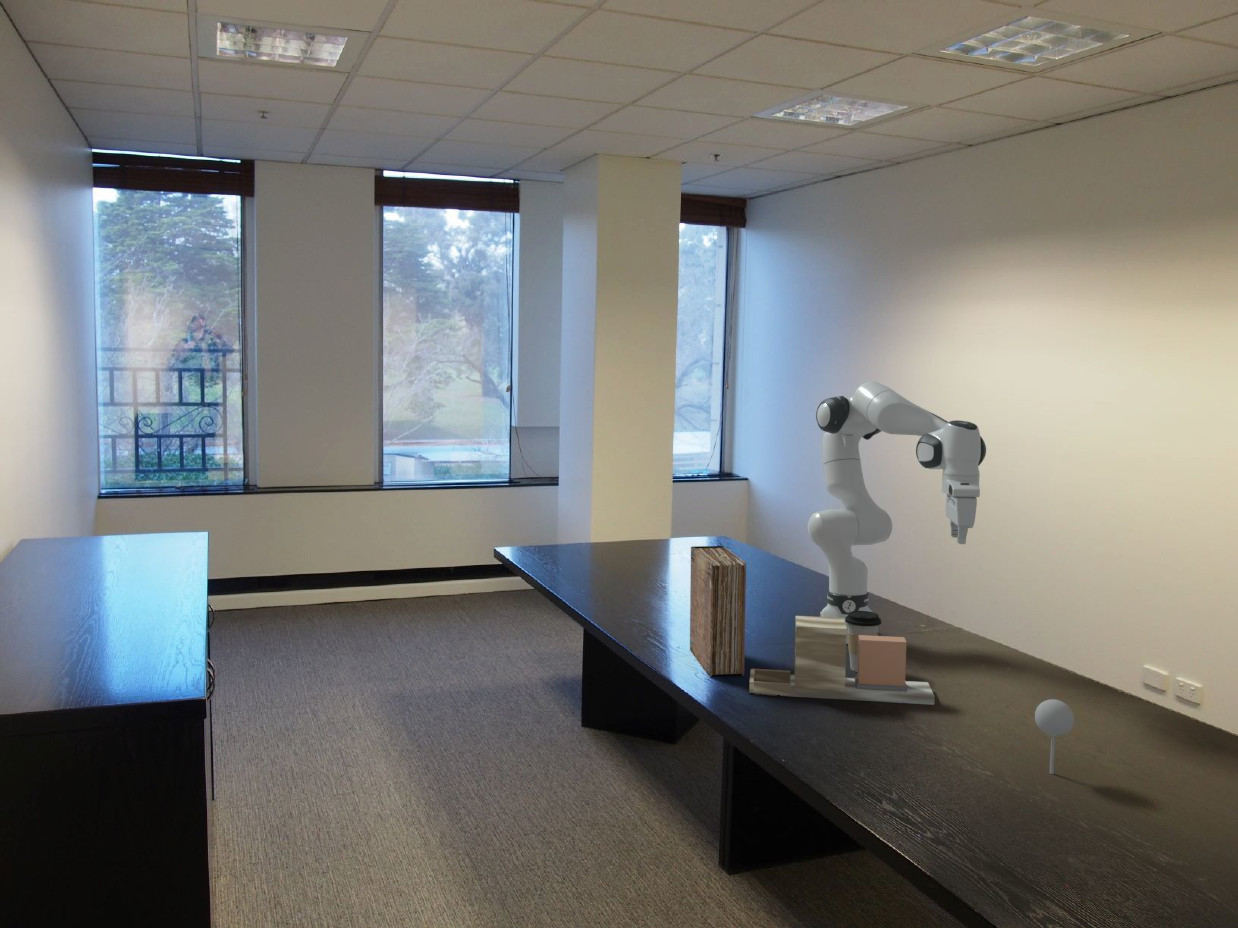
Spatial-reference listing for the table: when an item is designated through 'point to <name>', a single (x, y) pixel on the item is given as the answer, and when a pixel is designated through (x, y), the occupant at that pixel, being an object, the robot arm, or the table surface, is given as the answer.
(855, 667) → the coffee cup
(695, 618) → the book
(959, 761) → the table surface
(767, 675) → the tunnel track
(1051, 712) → the lollipop
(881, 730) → the table surface
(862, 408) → the robot arm
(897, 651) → the block
